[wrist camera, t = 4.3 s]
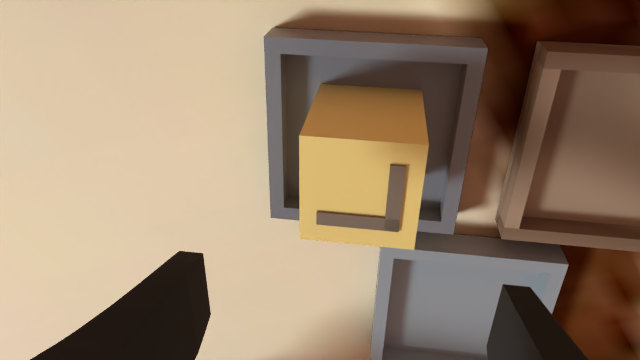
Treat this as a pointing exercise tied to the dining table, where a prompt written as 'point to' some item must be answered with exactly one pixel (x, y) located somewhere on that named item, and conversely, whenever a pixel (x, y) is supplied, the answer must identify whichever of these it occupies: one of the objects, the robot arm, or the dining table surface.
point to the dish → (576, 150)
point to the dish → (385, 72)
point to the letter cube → (362, 166)
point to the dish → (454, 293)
